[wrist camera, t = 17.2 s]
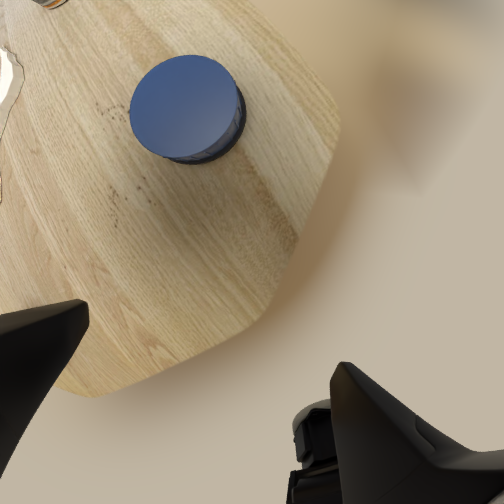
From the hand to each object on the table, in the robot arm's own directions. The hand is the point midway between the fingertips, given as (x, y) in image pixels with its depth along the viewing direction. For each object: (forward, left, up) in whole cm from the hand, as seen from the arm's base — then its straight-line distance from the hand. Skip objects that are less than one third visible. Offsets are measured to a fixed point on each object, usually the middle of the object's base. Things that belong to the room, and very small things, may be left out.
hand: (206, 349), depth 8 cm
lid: (+5, -9, -11) cm, 15 cm away
